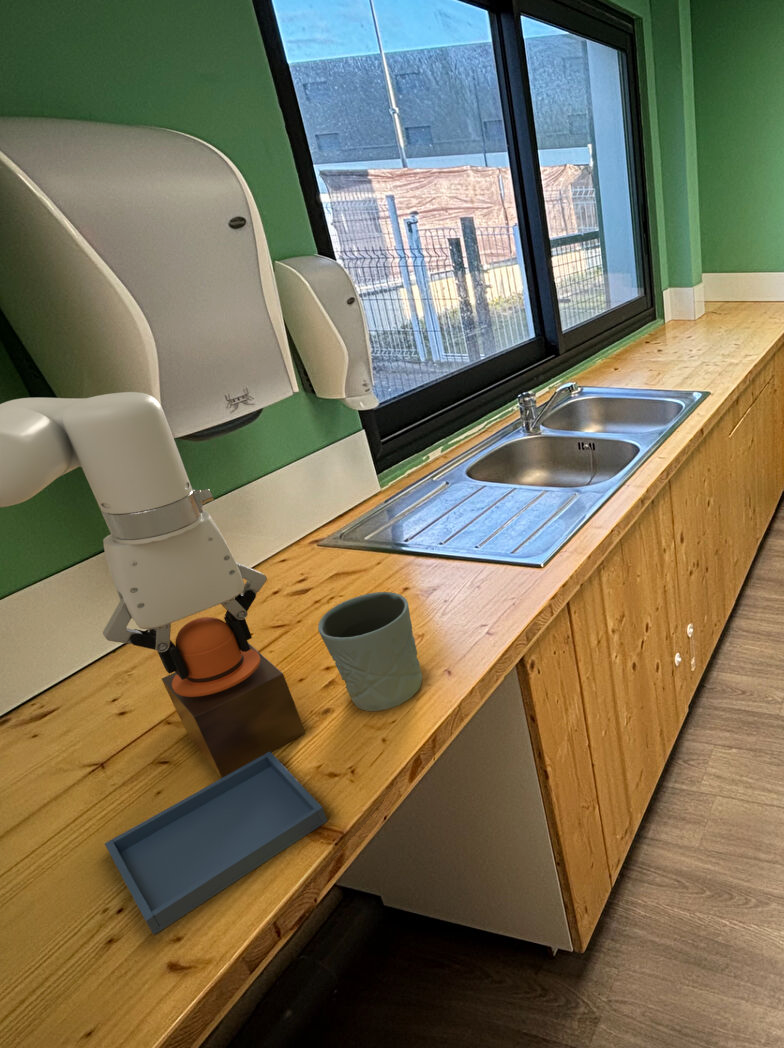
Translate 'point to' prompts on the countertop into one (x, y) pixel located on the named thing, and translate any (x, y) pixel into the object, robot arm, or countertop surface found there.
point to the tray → (213, 839)
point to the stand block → (240, 718)
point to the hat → (211, 658)
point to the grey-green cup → (373, 649)
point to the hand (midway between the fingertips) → (212, 658)
